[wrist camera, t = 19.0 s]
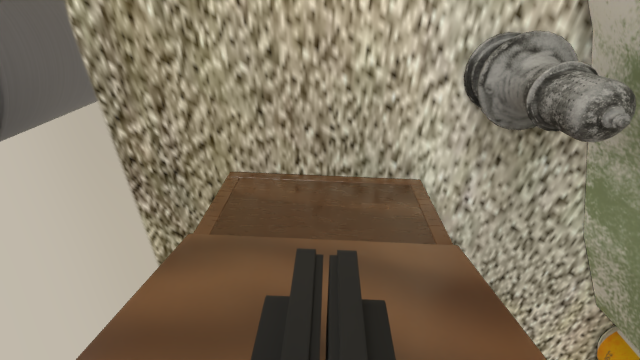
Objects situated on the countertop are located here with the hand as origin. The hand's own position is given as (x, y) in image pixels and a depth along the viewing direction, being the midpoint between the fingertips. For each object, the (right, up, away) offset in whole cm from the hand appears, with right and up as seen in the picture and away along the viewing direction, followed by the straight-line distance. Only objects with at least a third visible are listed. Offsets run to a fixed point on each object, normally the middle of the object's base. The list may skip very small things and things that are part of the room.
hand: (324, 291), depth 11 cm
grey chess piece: (+13, +11, +15) cm, 23 cm away
